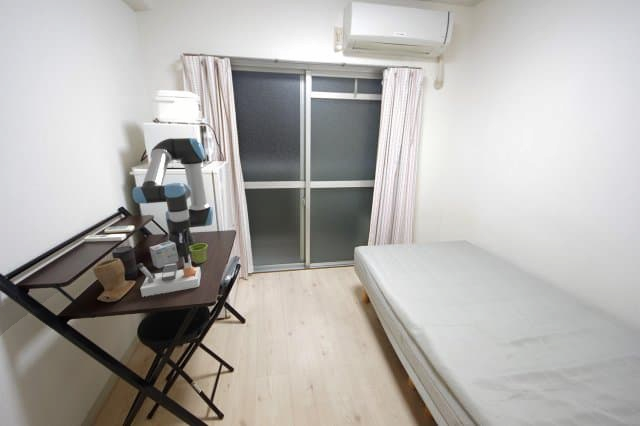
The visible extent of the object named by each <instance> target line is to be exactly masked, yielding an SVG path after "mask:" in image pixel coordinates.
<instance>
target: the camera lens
mask: <svg viewBox="0 0 640 426" xmlns="http://www.w3.org/2000/svg"><path fill="white" fill-rule="evenodd" d="M111 251H112V252H111V254H112V259H116V258H118V259H120V260H121V261H122V263H123V266H124V270H125V273H124V277H125V281H132V280H133V279H135V278H137V277H138V275H139V274H138V273H139V268H137V265H138V264H137V261H136V255H135V250H134V247H133V246H132V245H121V246H118V247H116V248H114V249H113V250H111Z"/></svg>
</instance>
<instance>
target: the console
mask: <svg viewBox="0 0 640 426" xmlns="http://www.w3.org/2000/svg"><path fill="white" fill-rule="evenodd" d="M183 269H184V268H182V269H177V273H176V279H174V280H168V281H162V274H163V272H158V273H151V274H152V275H153V276H154V278H148V277H147V276H145V277H146V278H145V280H144V282H143V283H142V285H141V287H140V288H139V289H140V292H141V297H142V298H144V296H145V297H150V295H151V296H156V295H162V294H166V293H167V294H168V293H171V292H177V291H182V290H188V289H194V288H199V287H200V282H201V275H202V272H201V267H200V266H196V267H194V273H195V276H191V277H185V278H184V272H183ZM161 293H162V294H161ZM155 294H156V295H155Z"/></svg>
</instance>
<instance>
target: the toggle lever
mask: <svg viewBox="0 0 640 426" xmlns="http://www.w3.org/2000/svg"><path fill="white" fill-rule="evenodd" d="M137 268H138V270H140V271H141V272H142V273H143V275H145V277H148V278H154V276H153V275H152V274H153V273H151V272H150V271H149V270H148V269H147V267H145V266H144V263H142V262H141V263H140V262H139V263H138V264H137Z"/></svg>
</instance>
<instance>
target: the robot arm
mask: <svg viewBox="0 0 640 426" xmlns="http://www.w3.org/2000/svg"><path fill="white" fill-rule="evenodd" d="M205 159H206V154H205V149H204V146H203V144H202V141H201V140H200V139H199V138H193V137H187V138H186V137H185V138H184V137H183V138H180V137H179V138H178V137H177V138H173V137H171V138H166V139H164V140H161V141H159V142H158V143H157V144H155V145H154V147H153V148H152V150H151V151H150V162H149V166H148V168H147V170H146V174H145V177H144V180H143V181H142V182H143V183H142V185H141V186H135V187H133V189H132V198H133V200H134V202H135V203H137V204H158V203H166V206H167V211H165V214H164V215H165V222H166V225H167V231H168V237H167V241H171V242H174V243H175V244H176V249H179V250H180V257H181V258H182V262H183V268H185V269H189V268H191V267H192V261H191V251H189V250H190V249H189V247H190V246H191V245H194V244H195V242H196V241H195V237H194V236H193V234H192V233H191V230H190V228H200V227H201V228H202V227H209V226H212V225H213V221H214V220H213V219H214V208H213V207H211V206H210V203H209V202H207V197H206V191H205V190H206V189H205V186H204V185H205V184H204V177H203V172H202V166H201V165H202V164H203V163H204V160H205ZM172 161H179V162H180V164H181V165H182V166H183V167H184V172H185V178H186V182H187V184H186V183H184V182H182V183H181V182H172V183H167V184H164V179H165V176H166V173H167V170H168V165H169V164H170V163H171V162H172ZM189 198H190V205H189V206H188V199H189Z"/></svg>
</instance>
